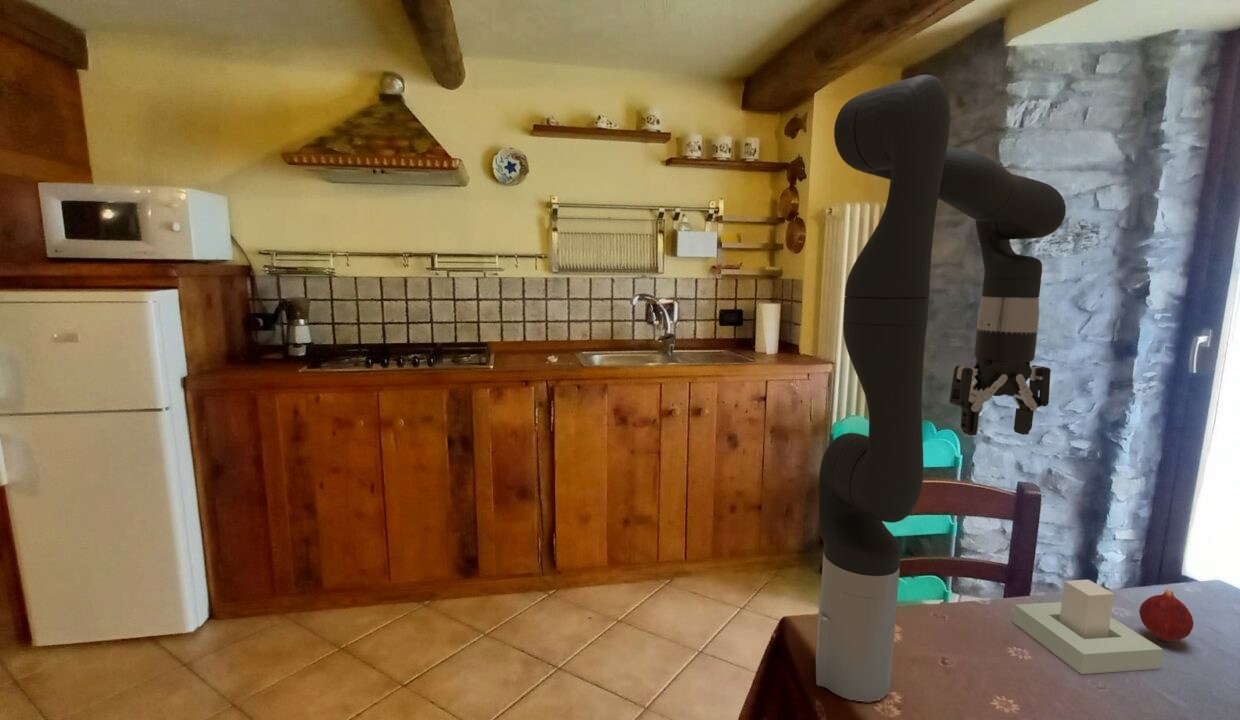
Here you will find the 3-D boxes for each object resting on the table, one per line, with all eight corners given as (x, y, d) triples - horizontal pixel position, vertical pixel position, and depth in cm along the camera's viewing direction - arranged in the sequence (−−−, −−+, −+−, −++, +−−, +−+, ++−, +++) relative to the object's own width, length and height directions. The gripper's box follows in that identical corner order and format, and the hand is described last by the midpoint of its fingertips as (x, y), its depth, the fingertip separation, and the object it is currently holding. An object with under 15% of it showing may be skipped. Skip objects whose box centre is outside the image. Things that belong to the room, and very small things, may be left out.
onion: (1200, 655, 83) (1208, 604, 82) (1153, 650, 84) (1161, 599, 83) (1170, 631, 89) (1178, 583, 87) (1127, 626, 90) (1134, 578, 89)
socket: (1081, 674, 79) (1083, 654, 78) (1013, 622, 91) (1014, 604, 90) (1159, 668, 80) (1162, 648, 80) (1082, 618, 92) (1084, 600, 91)
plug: (1081, 653, 83) (1089, 595, 82) (1057, 636, 87) (1064, 581, 86) (1106, 651, 84) (1114, 594, 82) (1081, 634, 88) (1088, 579, 86)
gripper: (980, 330, 81) (969, 441, 83) (1072, 330, 83) (1059, 439, 85) (945, 325, 88) (935, 428, 91) (1030, 325, 90) (1019, 426, 92)
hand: (995, 433), depth 88 cm, fingers open, 8 cm apart
